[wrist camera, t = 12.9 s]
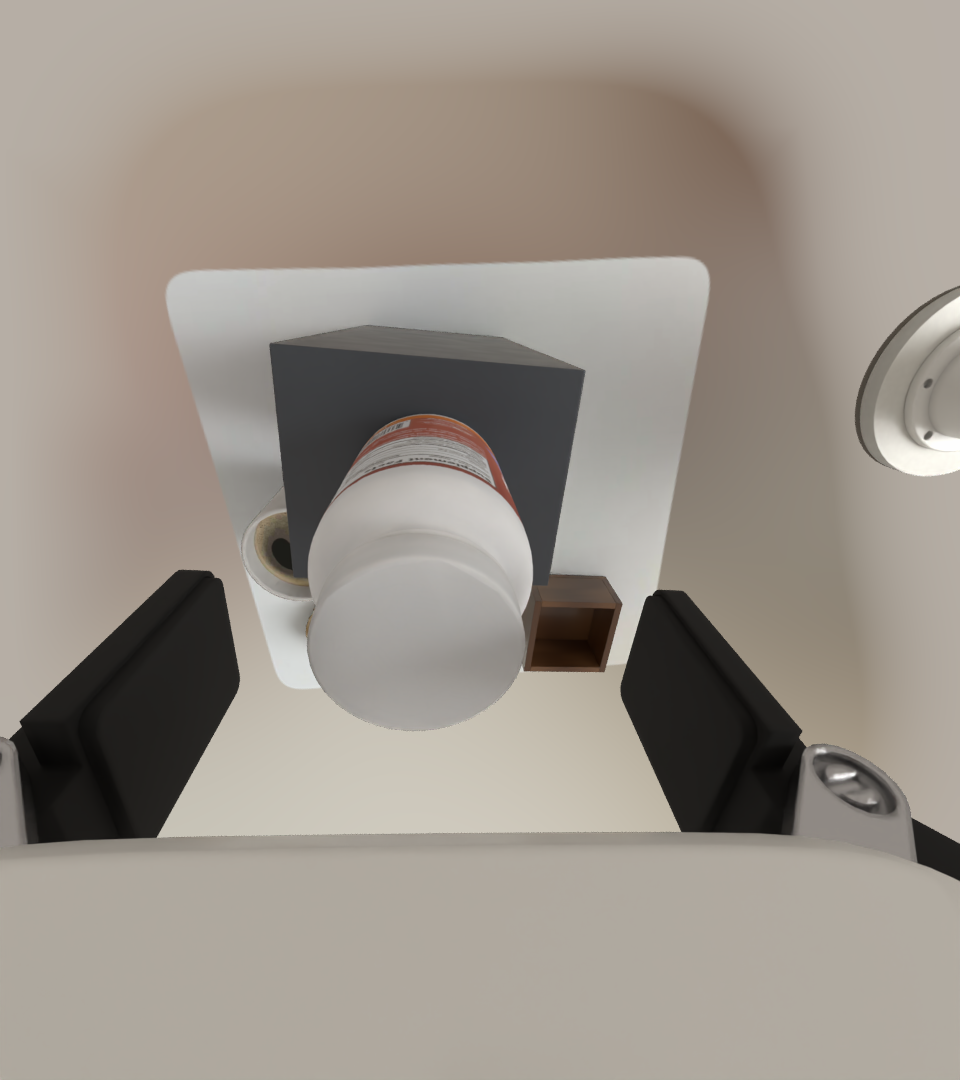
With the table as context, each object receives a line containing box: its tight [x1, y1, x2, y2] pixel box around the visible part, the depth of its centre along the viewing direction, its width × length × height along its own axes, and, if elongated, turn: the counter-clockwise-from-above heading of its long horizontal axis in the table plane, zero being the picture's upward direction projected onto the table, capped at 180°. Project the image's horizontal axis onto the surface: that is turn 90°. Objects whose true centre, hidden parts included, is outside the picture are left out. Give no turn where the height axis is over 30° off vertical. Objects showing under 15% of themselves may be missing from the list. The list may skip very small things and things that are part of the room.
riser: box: [270, 325, 585, 586], centre depth 31 cm, size 12×10×26 cm
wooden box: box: [521, 575, 622, 672], centre depth 53 cm, size 9×9×6 cm
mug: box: [241, 486, 313, 601], centre depth 43 cm, size 11×10×10 cm
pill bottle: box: [307, 414, 533, 731], centre depth 15 cm, size 6×6×11 cm
